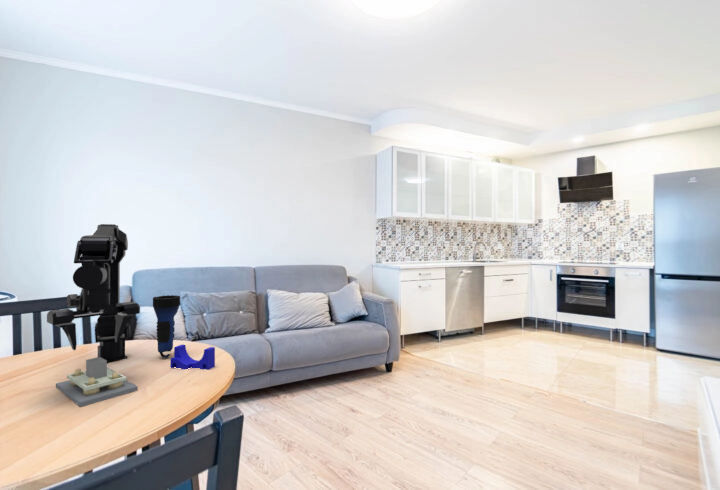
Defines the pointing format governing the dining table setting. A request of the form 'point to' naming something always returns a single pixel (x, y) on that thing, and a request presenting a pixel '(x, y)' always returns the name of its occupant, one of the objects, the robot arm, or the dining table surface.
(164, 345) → the flashlight
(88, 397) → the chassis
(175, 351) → the blue u-shaped cradle
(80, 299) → the robot arm
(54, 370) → the dining table surface
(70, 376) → the board
